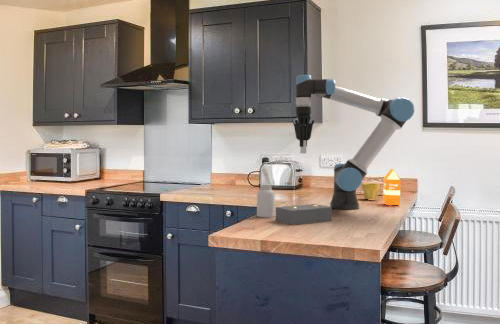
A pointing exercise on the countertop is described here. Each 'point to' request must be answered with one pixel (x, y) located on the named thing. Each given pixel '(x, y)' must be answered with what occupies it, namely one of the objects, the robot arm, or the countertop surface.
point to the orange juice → (391, 189)
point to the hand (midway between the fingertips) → (303, 153)
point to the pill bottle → (265, 201)
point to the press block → (303, 214)
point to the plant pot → (370, 190)
